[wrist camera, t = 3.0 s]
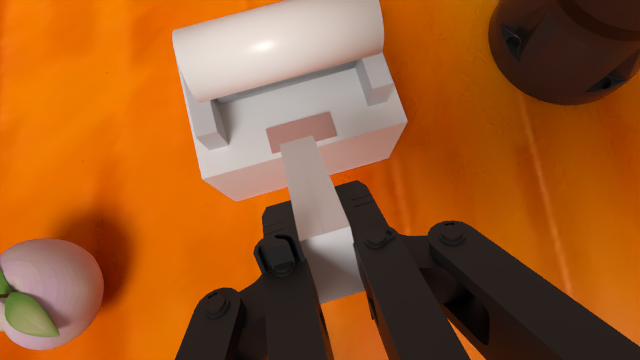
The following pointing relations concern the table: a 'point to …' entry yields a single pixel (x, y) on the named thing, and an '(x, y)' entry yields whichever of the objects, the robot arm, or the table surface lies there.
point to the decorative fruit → (48, 292)
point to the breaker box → (296, 127)
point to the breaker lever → (276, 46)
